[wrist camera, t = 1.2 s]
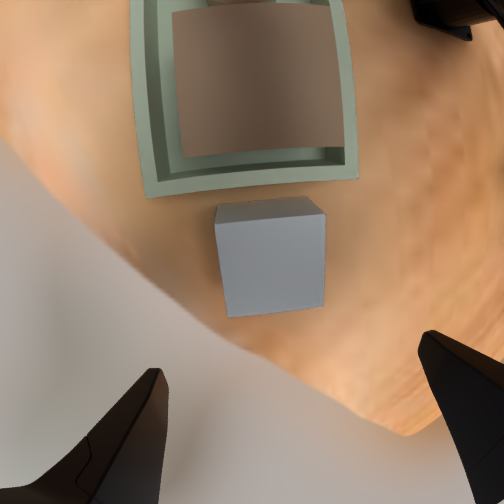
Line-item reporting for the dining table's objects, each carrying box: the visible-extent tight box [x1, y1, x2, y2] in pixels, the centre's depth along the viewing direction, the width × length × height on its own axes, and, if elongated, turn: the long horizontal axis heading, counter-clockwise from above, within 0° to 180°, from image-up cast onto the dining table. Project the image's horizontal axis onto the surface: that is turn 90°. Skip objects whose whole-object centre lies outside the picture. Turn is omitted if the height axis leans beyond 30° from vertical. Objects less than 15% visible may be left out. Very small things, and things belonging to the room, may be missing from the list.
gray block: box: [214, 197, 326, 318], centre depth 19 cm, size 6×6×4 cm
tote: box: [130, 0, 358, 199], centre depth 13 cm, size 12×17×4 cm
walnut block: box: [172, 3, 345, 158], centre depth 13 cm, size 7×7×6 cm
